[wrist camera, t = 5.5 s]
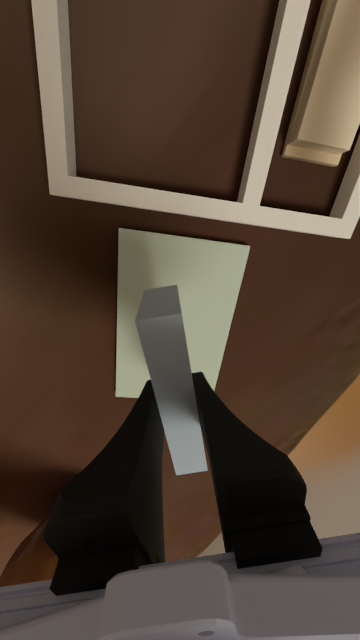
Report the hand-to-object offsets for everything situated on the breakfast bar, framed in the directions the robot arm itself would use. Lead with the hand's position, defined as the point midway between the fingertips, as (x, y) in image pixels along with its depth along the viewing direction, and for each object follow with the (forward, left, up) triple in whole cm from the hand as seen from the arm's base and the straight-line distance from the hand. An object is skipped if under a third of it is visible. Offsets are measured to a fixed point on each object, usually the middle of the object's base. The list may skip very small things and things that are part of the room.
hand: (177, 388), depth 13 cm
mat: (0, 0, -8) cm, 8 cm away
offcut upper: (-8, -20, -8) cm, 22 cm away
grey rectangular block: (0, 0, -3) cm, 3 cm away
